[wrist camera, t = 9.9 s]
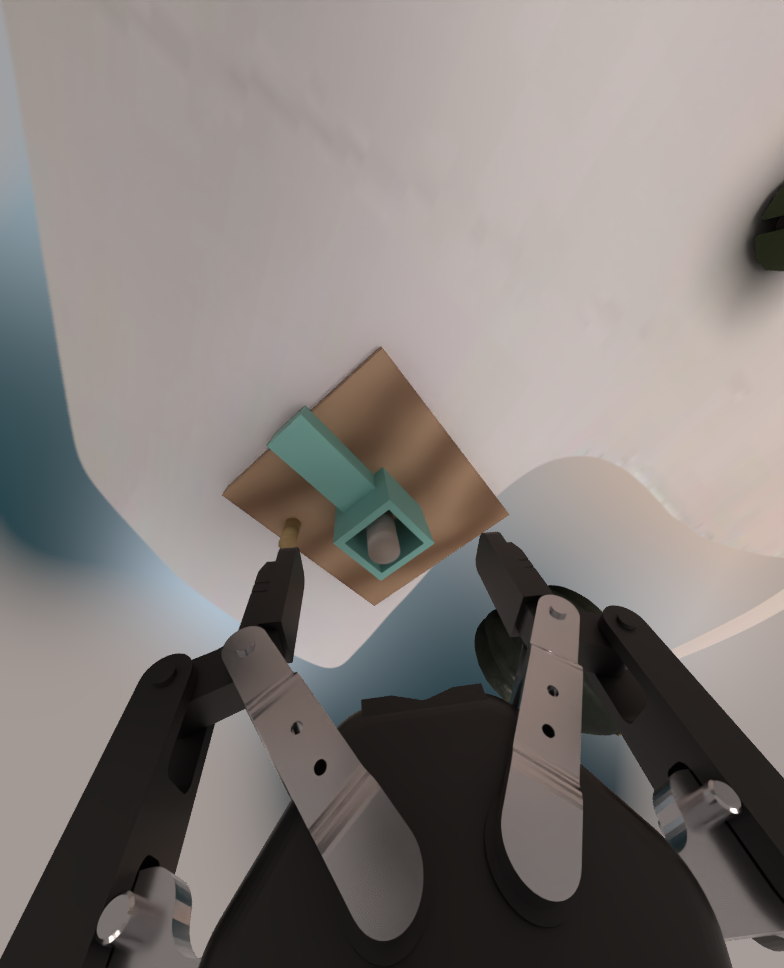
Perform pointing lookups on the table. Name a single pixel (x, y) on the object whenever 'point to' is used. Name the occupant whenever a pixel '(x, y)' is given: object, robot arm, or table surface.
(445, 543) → the base
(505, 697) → the squash
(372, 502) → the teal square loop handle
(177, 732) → the robot arm
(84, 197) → the table surface
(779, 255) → the character mug
